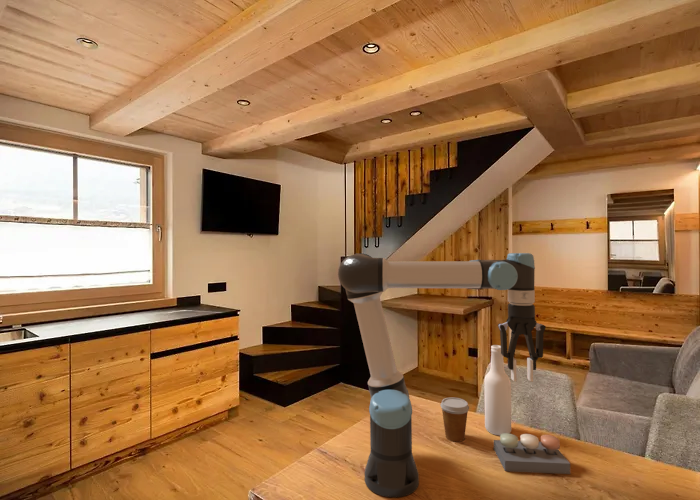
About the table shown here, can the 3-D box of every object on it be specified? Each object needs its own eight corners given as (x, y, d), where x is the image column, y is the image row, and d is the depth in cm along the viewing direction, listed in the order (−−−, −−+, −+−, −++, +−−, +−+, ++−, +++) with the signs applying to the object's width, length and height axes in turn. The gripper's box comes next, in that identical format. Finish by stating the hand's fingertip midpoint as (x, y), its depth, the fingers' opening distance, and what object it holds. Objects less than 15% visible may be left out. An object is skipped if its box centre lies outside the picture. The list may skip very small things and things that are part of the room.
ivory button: (524, 458, 112) (523, 441, 112) (518, 449, 117) (518, 433, 117) (541, 459, 112) (541, 442, 112) (535, 450, 117) (534, 434, 117)
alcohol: (514, 428, 135) (513, 345, 135) (508, 439, 128) (507, 350, 128) (488, 422, 140) (487, 341, 140) (481, 431, 133) (480, 347, 133)
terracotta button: (545, 459, 112) (544, 442, 112) (538, 450, 117) (538, 434, 117) (562, 460, 111) (562, 443, 111) (555, 451, 116) (555, 434, 116)
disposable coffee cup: (471, 445, 124) (470, 409, 124) (441, 442, 126) (440, 407, 126) (467, 431, 133) (467, 397, 133) (440, 429, 135) (439, 396, 135)
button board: (505, 471, 109) (505, 460, 109) (493, 449, 121) (493, 439, 121) (570, 474, 108) (570, 463, 108) (552, 451, 120) (552, 442, 120)
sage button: (503, 457, 113) (503, 441, 113) (498, 448, 118) (498, 432, 118) (520, 458, 112) (520, 441, 112) (514, 449, 117) (514, 433, 117)
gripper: (495, 305, 112) (496, 383, 112) (556, 305, 110) (557, 385, 110) (488, 301, 119) (489, 375, 119) (545, 301, 117) (546, 376, 117)
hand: (521, 379), depth 115 cm, fingers open, 4 cm apart
